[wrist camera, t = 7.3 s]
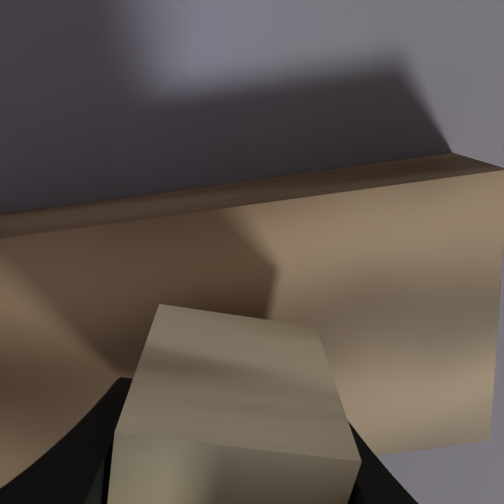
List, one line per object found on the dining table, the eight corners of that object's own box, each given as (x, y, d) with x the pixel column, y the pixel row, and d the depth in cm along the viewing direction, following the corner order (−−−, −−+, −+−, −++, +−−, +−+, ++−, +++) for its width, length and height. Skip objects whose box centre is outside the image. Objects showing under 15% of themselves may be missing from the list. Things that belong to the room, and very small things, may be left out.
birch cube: (284, 448, 15) (307, 622, 10) (142, 432, 14) (97, 604, 9) (315, 327, 13) (361, 461, 8) (159, 304, 13) (114, 432, 8)
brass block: (442, 374, 20) (490, 440, 17) (47, 427, 20) (5, 504, 17) (447, 151, 17) (508, 169, 13) (-29, 216, 17) (-103, 252, 13)
